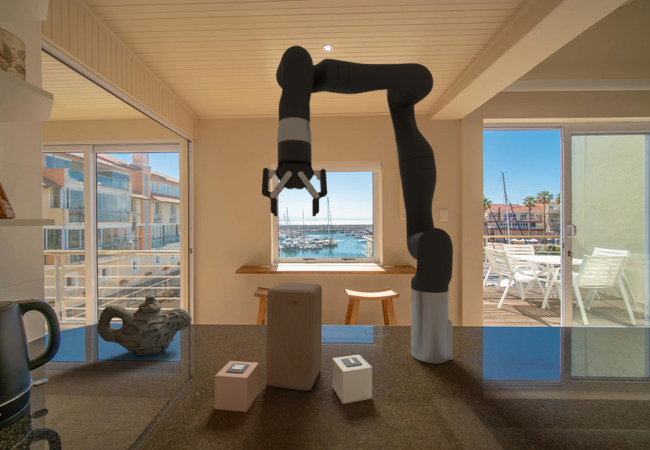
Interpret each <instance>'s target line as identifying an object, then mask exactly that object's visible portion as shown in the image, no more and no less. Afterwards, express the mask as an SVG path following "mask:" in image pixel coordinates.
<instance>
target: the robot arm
mask: <svg viewBox="0 0 650 450" xmlns="http://www.w3.org/2000/svg"><path fill="white" fill-rule="evenodd" d="M275 79H276V83H277V84H278V86H279V87H280V88H281V94H280V98H279V101H278V127H277V138H276V139H277V140H276V141H277V167H276V169H270V168H268V167H264V168H262V179H261V180H262V181H261V195H262V196H263V197H265V198H268V199H269V200H270V213H271V214H272V215H273V217H278V199H277V197H278V196H279V195H281V192H282V191H284V189H287V190H294V189H295V190H302V189H303V190H304V189H305V190H306V191H307V192H308V193H309V195H310V196H311V197H312V200H311V203H312V204H311V206H312V207H311V209H312V213H311V214H312V217H317V214H319V213H320V199H321V198H323V197H324V198H325V197H326V196H327V195H328V186H327V185H328V183H327V170H326V169H325V168H321V169H317V170H314V169H313V167H312V159H313V158H312V144H313V143H312V142H313V139H312V129H311V106H310V105H311V103H310V102H311V98H312V94H314V93H315V94H317V93H322V92H325V93H333V94H339V95H357V94H358V95H359V94H362V93H369V92H376V91H377V92H378V91H386V94H385V95H386V101H387V106H388V109H389V114H390V118H391V122H392V127H393V131H394V139H395V145H396V152H397V159H398V160H397V161H398V169H399V171H398V172H399V177H400V178H399V179H400V184H401V189H402V197H403V202H404V203H403V204H404V209H405V223H406V246H407V247H406V248H407V251H408V252H409V254H410V256H411V257H412V258H413V259H414V260H416V270H415V273H414V275H413V276H412V278H411V279H410V354H411V356H412V357H413V358H414V359H416V360H417V361H420V362H424V363H428V364H443V363H446V362H448V361H452V360H453V321H452V320H450V317H449V315H450V313H449V312H450V311H449V307H450V306H449V305H450V304H449V301H450V300H449V297H450V296H449V291H450V290H449V288H450V287H449V285H450V283H451V281H452V277H453V262H454V261H453V259H454V249H453V247H454V246H453V242H452V238H451V236H450V235H449V233H448V232H447V231H445V230H444V229H442V228H438V227H435V224H434V218H433V201H434V195H435V192H436V191H435V190H436V185H437V166H436V160H435V159H436V158H435V152H434V149H433V147H432V146H431V144H430V143H429V141H428V139H426V138H425V136H424V135H423V134H422V133H421V131H420V130H419V127H418V124H417V121H416V114H415V105H417V104H418V103H420V102H421V101H422V100H424V99H425V98H427V96H429V94H430V93H431V92H432V90H433V88H434V76H433V74H432V73H431V71H430V70H429V68H428V67H426V66H425V65H423V64H421V63H416V62H414V63H413V62H408V63H404V62H403V63H364V62H363V63H361V62H352V61H349V60H340V59H334V58H324V59H322V60H321V61H320V62H318V63H317V64H316V63H315V64H314V61H313V58H312V55H311V54H310V52H309V51H308V50H307V48H305V47H303V46H302V45H301V46H300V45H293V46H290V47H288V48H287V49H286V50H285V51H283V54H282V56H281V59H280V61H279V64H278V66H277V70H276V74H275ZM274 176H276V178H277V179H278V181H279V182H278V183H277V184H276V186H275V187H274V189H273V190H272V191H269V189H270V188H269V184H270V180H272V179H273V177H274ZM314 176H315V177H316V180H317V181H319V187H320V191H317V189H316V188H315V187H314V186H313V184H312V183H311V180H312V178H313V177H314Z"/></svg>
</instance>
